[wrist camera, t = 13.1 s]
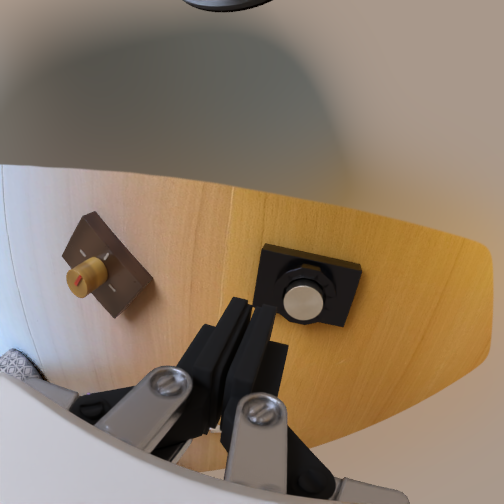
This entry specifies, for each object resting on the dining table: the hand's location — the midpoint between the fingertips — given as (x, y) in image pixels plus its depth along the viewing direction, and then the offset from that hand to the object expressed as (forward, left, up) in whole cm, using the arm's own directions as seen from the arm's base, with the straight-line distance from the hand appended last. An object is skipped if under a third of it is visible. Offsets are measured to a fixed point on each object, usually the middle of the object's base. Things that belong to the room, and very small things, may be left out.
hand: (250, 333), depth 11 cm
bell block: (+8, -6, -25) cm, 27 cm away
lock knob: (-13, -28, -22) cm, 38 cm away
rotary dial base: (-13, -28, -25) cm, 40 cm away
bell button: (+8, -6, -21) cm, 24 cm away
